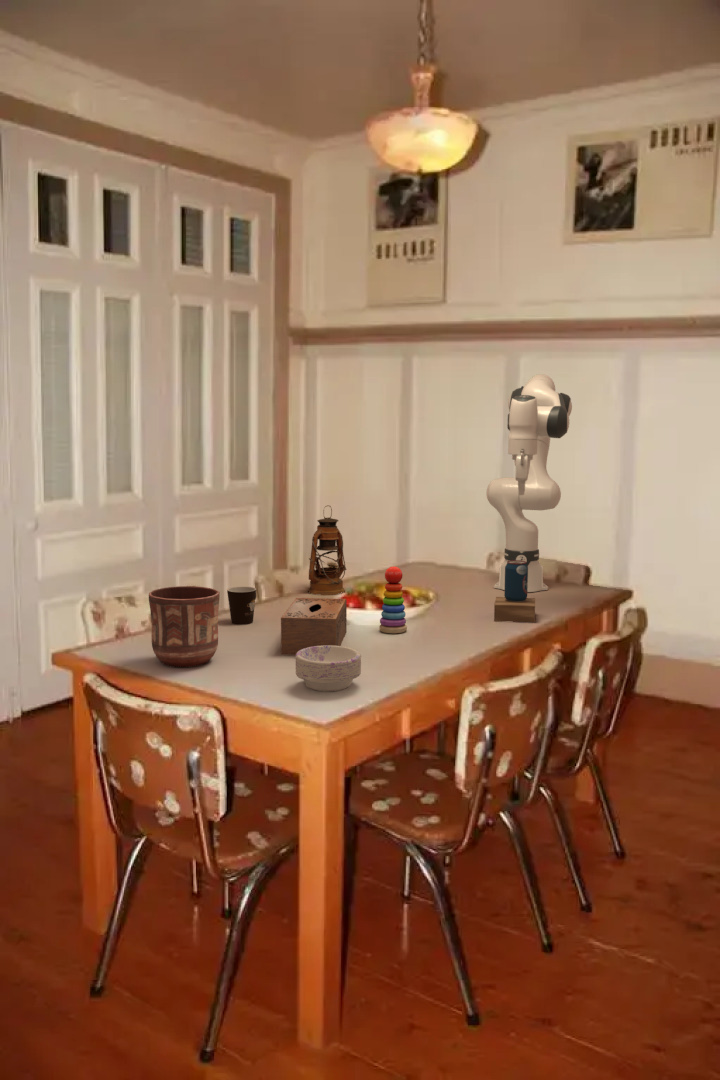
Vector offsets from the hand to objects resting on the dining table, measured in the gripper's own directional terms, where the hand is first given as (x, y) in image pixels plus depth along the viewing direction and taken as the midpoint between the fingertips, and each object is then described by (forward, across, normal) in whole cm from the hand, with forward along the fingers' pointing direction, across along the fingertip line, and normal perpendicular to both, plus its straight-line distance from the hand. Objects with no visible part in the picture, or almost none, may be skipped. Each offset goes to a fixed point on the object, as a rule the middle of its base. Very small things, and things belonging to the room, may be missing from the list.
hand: (521, 493), depth 302 cm
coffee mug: (+38, -30, +80) cm, 93 cm away
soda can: (+32, -8, +1) cm, 33 cm away
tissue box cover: (+38, -51, +54) cm, 83 cm away
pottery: (+38, -76, +82) cm, 118 cm away
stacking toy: (+37, -34, +35) cm, 61 cm away
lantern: (+37, +19, +66) cm, 78 cm away
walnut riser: (+37, -10, +1) cm, 38 cm away
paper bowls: (+38, -90, +42) cm, 106 cm away
